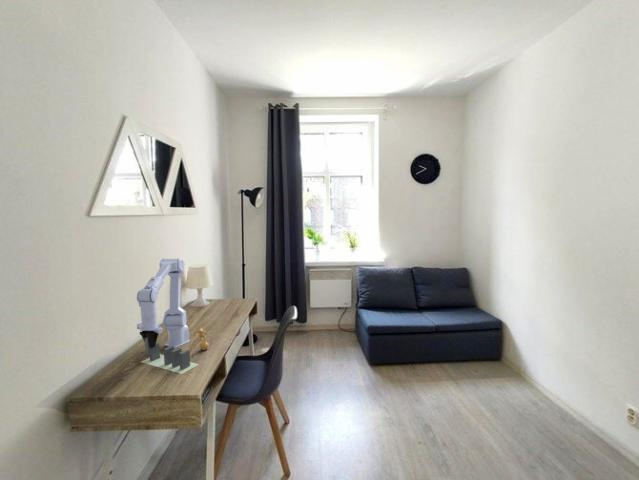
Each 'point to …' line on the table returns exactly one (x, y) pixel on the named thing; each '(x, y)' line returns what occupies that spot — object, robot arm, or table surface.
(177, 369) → the felt strip
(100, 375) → the table surface
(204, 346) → the figurine
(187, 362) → the tile
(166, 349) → the tile
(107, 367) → the table surface
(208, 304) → the table surface
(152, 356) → the tile
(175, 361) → the dark grey block
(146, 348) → the tile
